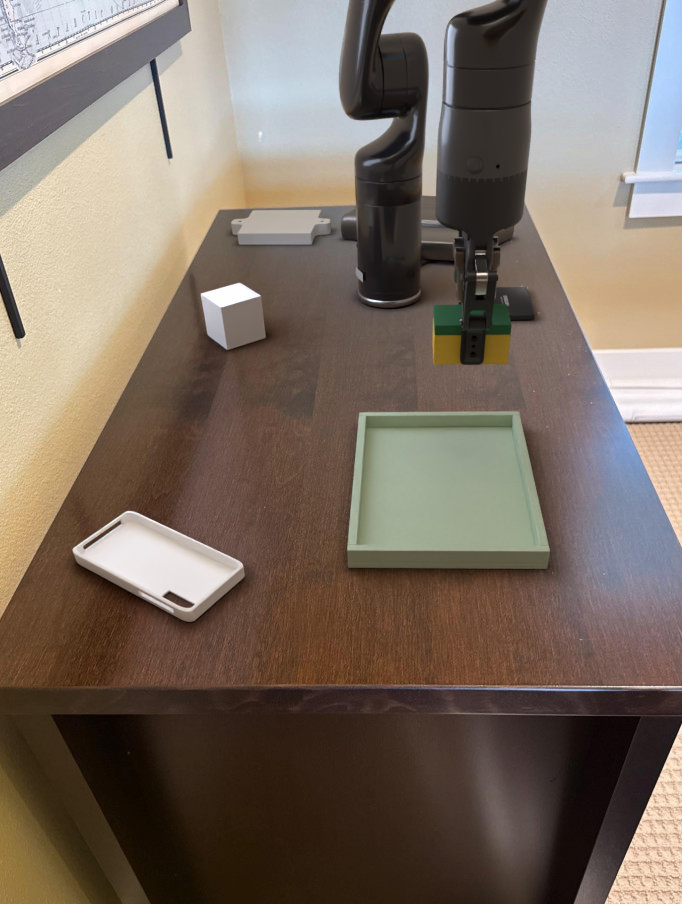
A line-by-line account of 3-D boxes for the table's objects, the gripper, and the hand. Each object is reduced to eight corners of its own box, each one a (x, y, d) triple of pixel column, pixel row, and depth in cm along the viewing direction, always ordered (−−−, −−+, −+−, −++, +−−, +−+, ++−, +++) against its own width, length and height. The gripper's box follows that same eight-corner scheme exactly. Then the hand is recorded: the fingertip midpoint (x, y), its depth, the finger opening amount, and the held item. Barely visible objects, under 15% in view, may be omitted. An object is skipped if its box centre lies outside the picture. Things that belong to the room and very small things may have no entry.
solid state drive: (483, 320, 108) (484, 315, 107) (478, 291, 115) (479, 287, 115) (534, 319, 107) (535, 314, 107) (526, 291, 115) (526, 286, 115)
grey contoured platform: (472, 176, 144) (539, 220, 123) (470, 206, 148) (535, 254, 127) (327, 194, 139) (371, 243, 118) (328, 224, 143) (371, 278, 122)
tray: (359, 428, 87) (359, 412, 86) (517, 427, 86) (519, 410, 85) (348, 568, 69) (346, 550, 68) (547, 569, 68) (550, 551, 67)
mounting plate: (335, 220, 144) (334, 209, 143) (325, 244, 134) (325, 233, 133) (241, 220, 146) (239, 210, 145) (224, 244, 136) (223, 233, 135)
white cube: (227, 350, 104) (220, 307, 100) (207, 335, 108) (200, 293, 104) (266, 337, 107) (261, 295, 103) (245, 323, 110) (239, 282, 107)
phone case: (248, 574, 69) (132, 519, 76) (246, 563, 68) (129, 508, 75) (190, 625, 64) (72, 561, 71) (187, 613, 64) (68, 550, 70)
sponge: (432, 342, 77) (433, 304, 75) (503, 342, 77) (506, 303, 74) (433, 364, 74) (434, 325, 71) (507, 364, 73) (511, 324, 71)
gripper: (539, 186, 58) (516, 387, 69) (518, 138, 69) (501, 318, 80) (439, 188, 59) (432, 387, 70) (434, 140, 70) (429, 319, 81)
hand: (469, 349), depth 75 cm, fingers closed on sponge, 4 cm apart
